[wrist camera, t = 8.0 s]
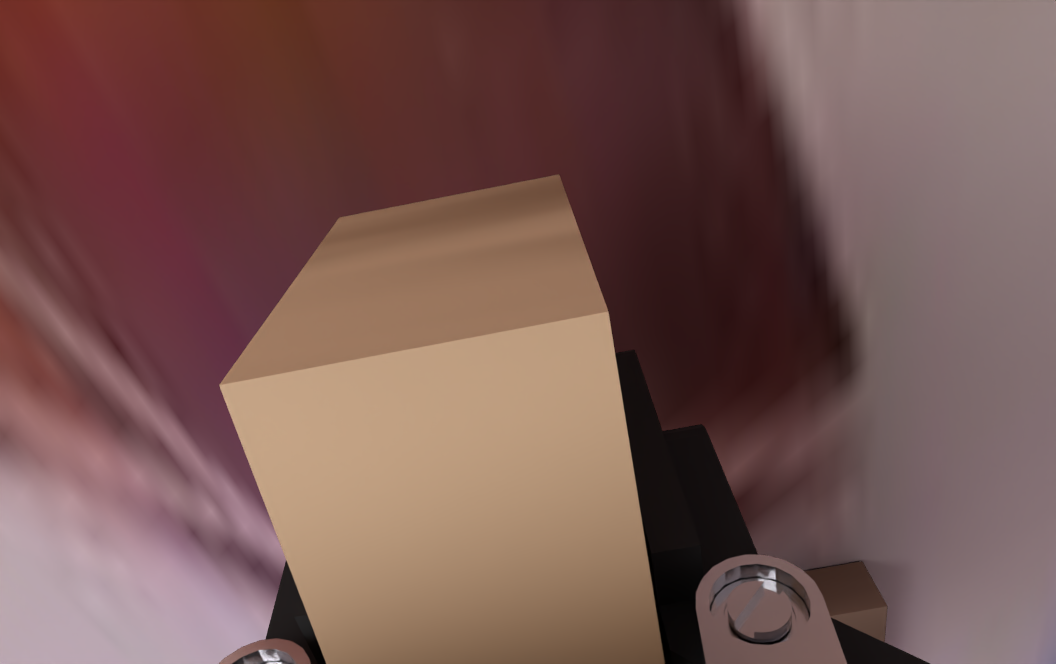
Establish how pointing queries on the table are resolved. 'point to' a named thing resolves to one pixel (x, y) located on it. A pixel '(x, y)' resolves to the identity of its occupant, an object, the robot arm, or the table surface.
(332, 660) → the tan block
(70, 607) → the table surface
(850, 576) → the walnut board
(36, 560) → the table surface
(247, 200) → the table surface
